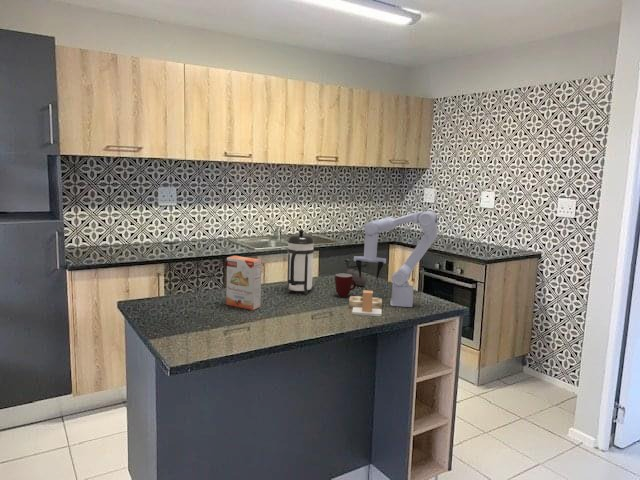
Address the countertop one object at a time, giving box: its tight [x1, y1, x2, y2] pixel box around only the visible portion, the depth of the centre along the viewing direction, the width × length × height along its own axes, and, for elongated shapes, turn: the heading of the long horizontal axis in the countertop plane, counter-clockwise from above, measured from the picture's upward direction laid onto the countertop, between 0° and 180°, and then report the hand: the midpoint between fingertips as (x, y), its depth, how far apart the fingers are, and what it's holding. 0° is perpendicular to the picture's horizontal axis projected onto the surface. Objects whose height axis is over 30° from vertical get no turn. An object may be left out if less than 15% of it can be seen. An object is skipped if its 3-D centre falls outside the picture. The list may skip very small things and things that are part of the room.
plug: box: [362, 289, 374, 312], centre depth 197 cm, size 4×4×8 cm
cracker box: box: [226, 255, 262, 311], centre depth 199 cm, size 14×6×21 cm, turn 62°
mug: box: [334, 272, 357, 298], centre depth 222 cm, size 11×8×10 cm
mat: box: [351, 307, 383, 317], centre depth 198 cm, size 12×7×1 cm, turn 83°
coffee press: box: [284, 229, 315, 296], centre depth 224 cm, size 17×16×30 cm
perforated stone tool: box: [345, 268, 366, 287], centre depth 245 cm, size 15×5×7 cm, turn 28°
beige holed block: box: [348, 295, 383, 309], centre depth 207 cm, size 14×9×3 cm, turn 83°
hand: (368, 277), depth 216 cm, fingers open, 7 cm apart
